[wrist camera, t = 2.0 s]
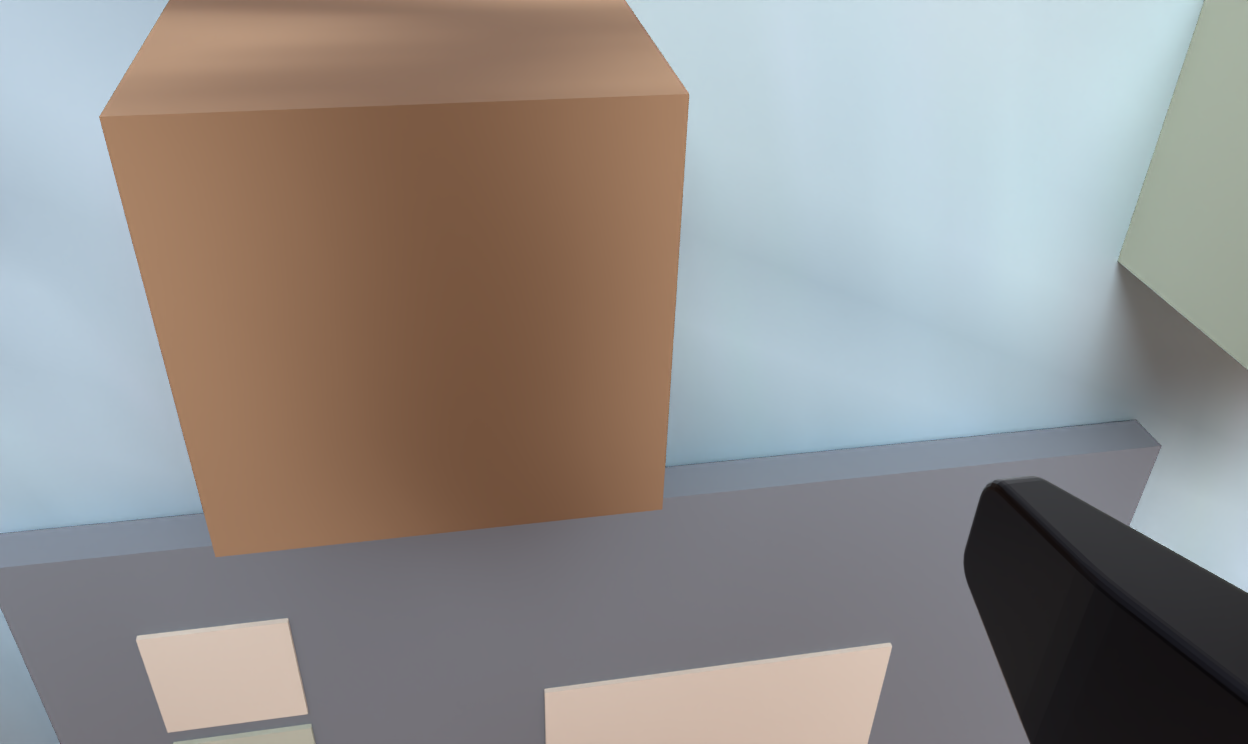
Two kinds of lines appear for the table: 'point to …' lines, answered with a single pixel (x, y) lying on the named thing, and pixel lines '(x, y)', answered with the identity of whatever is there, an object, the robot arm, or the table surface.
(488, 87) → the walnut block
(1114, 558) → the robot arm
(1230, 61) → the sage block
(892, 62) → the table surface
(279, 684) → the gray flat panel
